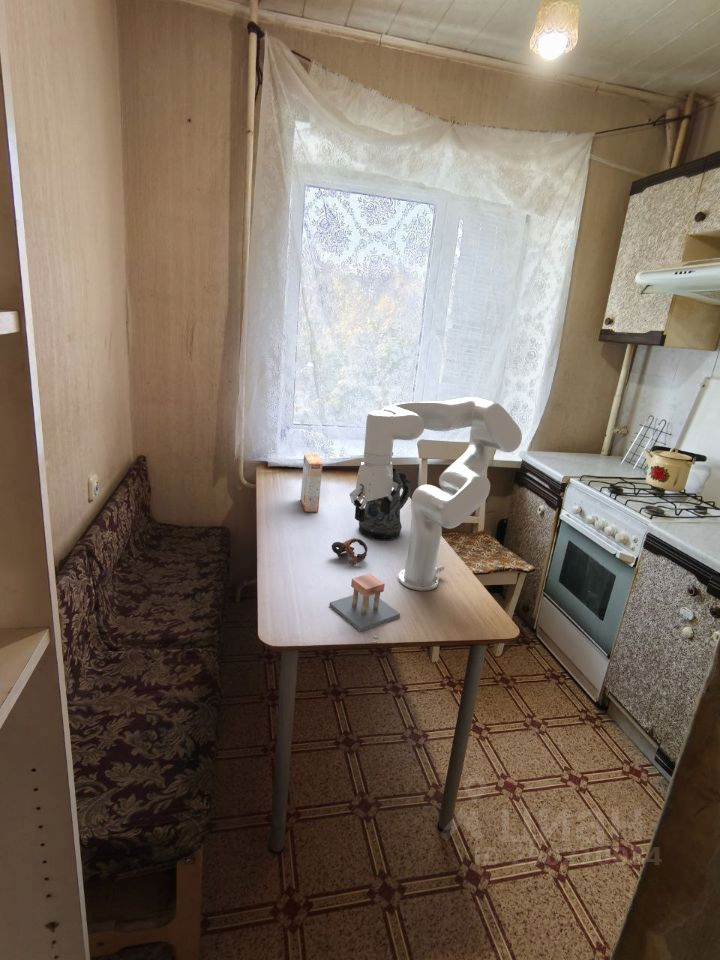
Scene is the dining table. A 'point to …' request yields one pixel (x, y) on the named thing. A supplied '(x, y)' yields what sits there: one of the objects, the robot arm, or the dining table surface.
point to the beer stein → (381, 523)
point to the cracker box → (311, 482)
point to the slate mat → (371, 616)
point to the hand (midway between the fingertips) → (372, 516)
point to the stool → (367, 591)
